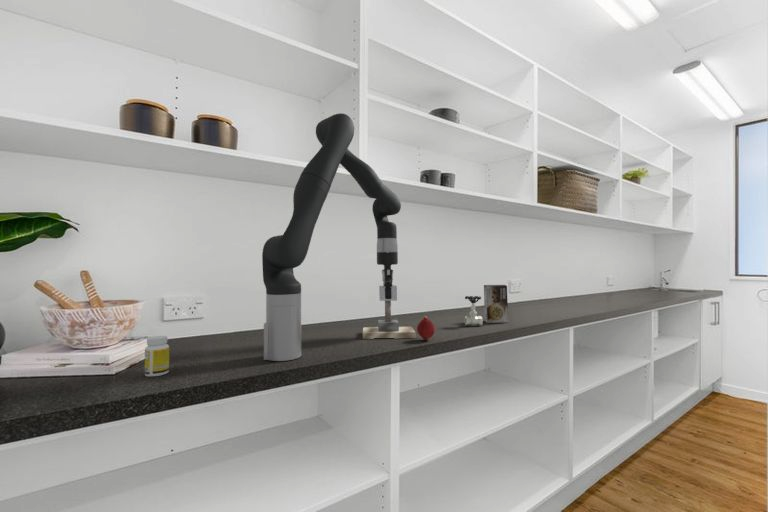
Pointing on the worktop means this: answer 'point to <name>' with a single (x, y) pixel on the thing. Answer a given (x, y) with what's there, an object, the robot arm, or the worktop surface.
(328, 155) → the robot arm
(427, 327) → the onion
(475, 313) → the valve
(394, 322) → the shaft stand
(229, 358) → the worktop surface
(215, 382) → the worktop surface
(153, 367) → the supplement bottle
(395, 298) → the block
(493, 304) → the coffee box
